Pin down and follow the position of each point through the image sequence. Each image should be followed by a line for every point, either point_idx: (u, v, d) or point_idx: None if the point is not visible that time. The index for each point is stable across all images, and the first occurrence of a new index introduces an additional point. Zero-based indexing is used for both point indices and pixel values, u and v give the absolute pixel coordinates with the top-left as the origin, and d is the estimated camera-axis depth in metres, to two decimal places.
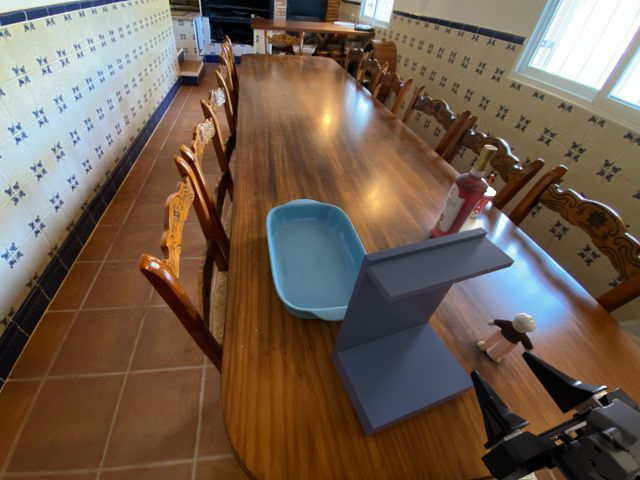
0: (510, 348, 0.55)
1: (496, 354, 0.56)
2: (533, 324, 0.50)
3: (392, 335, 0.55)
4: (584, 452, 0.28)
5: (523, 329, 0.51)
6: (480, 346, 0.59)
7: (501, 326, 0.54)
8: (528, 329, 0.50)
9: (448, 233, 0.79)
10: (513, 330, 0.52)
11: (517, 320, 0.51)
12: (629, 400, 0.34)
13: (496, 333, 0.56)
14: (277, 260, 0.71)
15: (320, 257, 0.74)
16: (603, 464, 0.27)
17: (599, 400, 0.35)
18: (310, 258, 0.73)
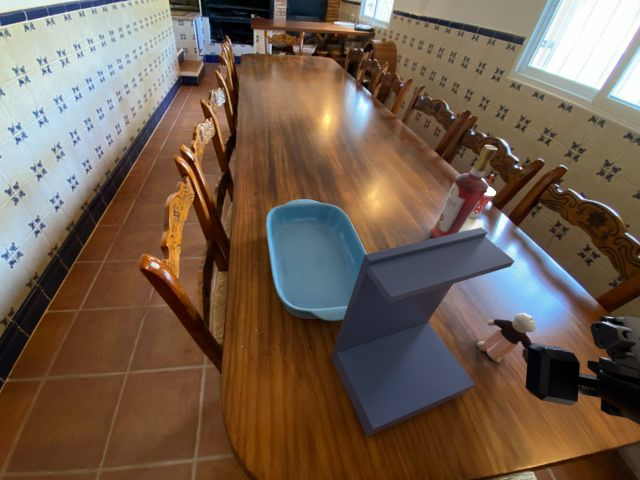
0: (510, 348, 0.55)
1: (496, 354, 0.56)
2: (533, 324, 0.50)
3: (392, 335, 0.55)
4: (595, 339, 0.35)
5: (523, 329, 0.51)
6: (480, 346, 0.59)
7: (501, 326, 0.54)
8: (528, 329, 0.50)
9: (448, 233, 0.79)
10: (513, 330, 0.52)
11: (517, 320, 0.51)
12: None
13: (496, 333, 0.56)
14: (277, 260, 0.71)
15: (320, 257, 0.74)
16: (605, 335, 0.34)
17: None
18: (310, 258, 0.73)
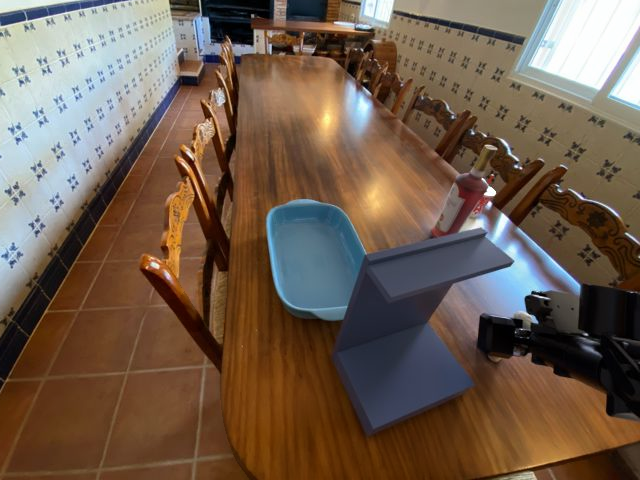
0: None
1: None
2: (529, 322, 0.50)
3: (392, 335, 0.55)
4: (527, 308, 0.46)
5: None
6: None
7: None
8: None
9: (448, 233, 0.79)
10: None
11: (515, 316, 0.52)
12: None
13: None
14: (277, 260, 0.71)
15: (320, 257, 0.74)
16: (532, 304, 0.44)
17: None
18: (310, 258, 0.73)
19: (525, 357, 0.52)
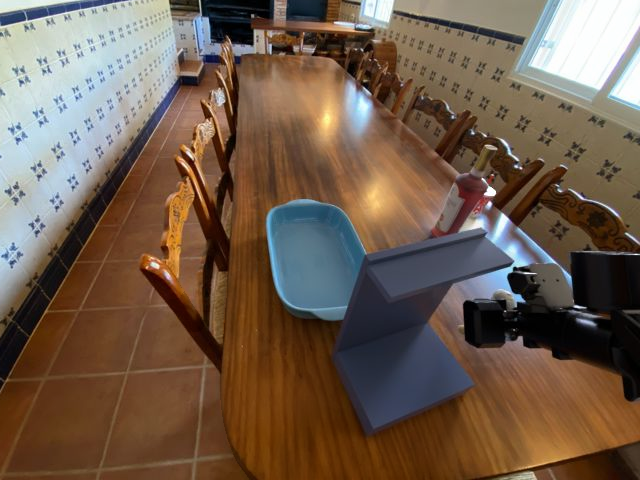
0: None
1: None
2: (511, 301, 0.46)
3: (392, 335, 0.55)
4: (511, 287, 0.40)
5: None
6: (460, 329, 0.54)
7: None
8: None
9: (448, 233, 0.79)
10: None
11: (494, 296, 0.47)
12: None
13: None
14: (277, 260, 0.71)
15: (320, 257, 0.74)
16: (518, 282, 0.39)
17: None
18: (310, 258, 0.73)
19: None
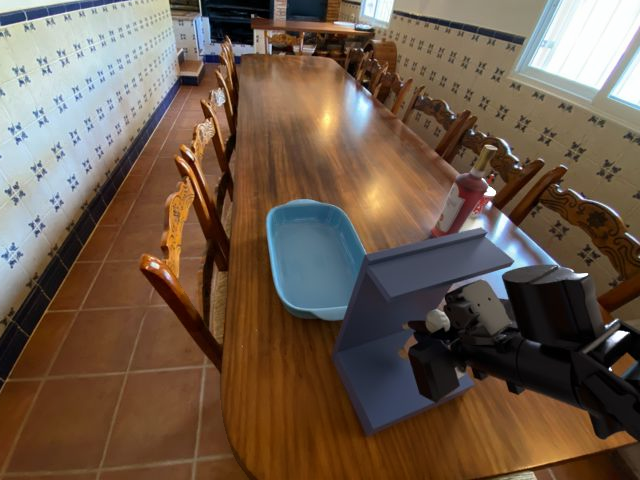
0: None
1: None
2: (446, 322, 0.42)
3: (392, 335, 0.55)
4: (451, 321, 0.35)
5: None
6: (401, 354, 0.50)
7: (416, 329, 0.46)
8: None
9: (448, 233, 0.79)
10: (428, 332, 0.44)
11: (429, 320, 0.42)
12: (505, 300, 0.42)
13: (413, 337, 0.47)
14: (277, 260, 0.71)
15: (320, 257, 0.74)
16: (457, 316, 0.34)
17: None
18: (310, 258, 0.73)
19: None
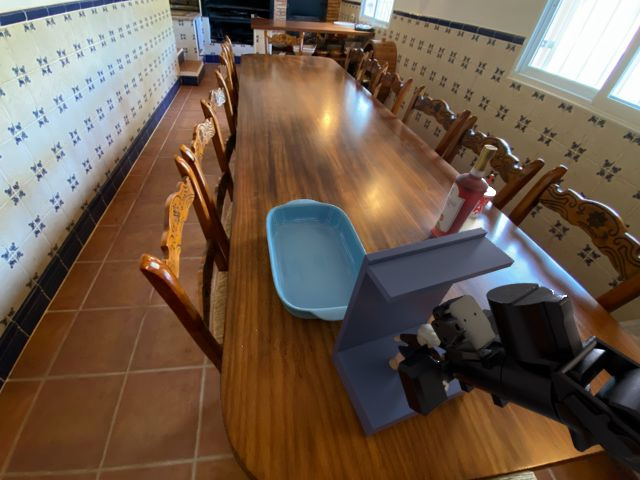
0: None
1: None
2: (437, 337, 0.43)
3: (392, 335, 0.55)
4: (439, 336, 0.36)
5: (428, 345, 0.43)
6: (392, 365, 0.51)
7: (407, 342, 0.46)
8: (433, 345, 0.42)
9: (448, 233, 0.79)
10: (419, 346, 0.45)
11: (421, 335, 0.43)
12: (490, 311, 0.43)
13: None
14: (277, 260, 0.71)
15: (320, 257, 0.74)
16: (445, 332, 0.35)
17: None
18: (310, 258, 0.73)
19: None
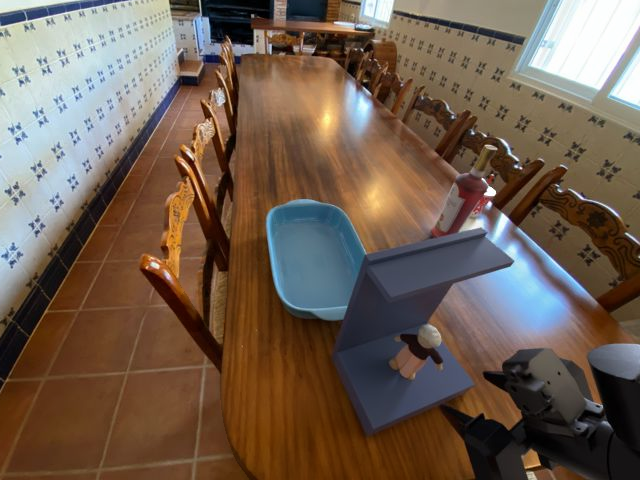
0: (421, 364, 0.47)
1: (409, 373, 0.48)
2: (438, 337, 0.43)
3: (392, 335, 0.55)
4: (516, 403, 0.29)
5: (429, 345, 0.43)
6: (392, 365, 0.51)
7: (408, 342, 0.46)
8: (434, 345, 0.42)
9: (448, 233, 0.79)
10: (420, 346, 0.45)
11: (422, 336, 0.43)
12: (563, 361, 0.36)
13: (405, 349, 0.48)
14: (277, 260, 0.71)
15: (320, 257, 0.74)
16: (526, 400, 0.28)
17: None
18: (310, 258, 0.73)
19: None
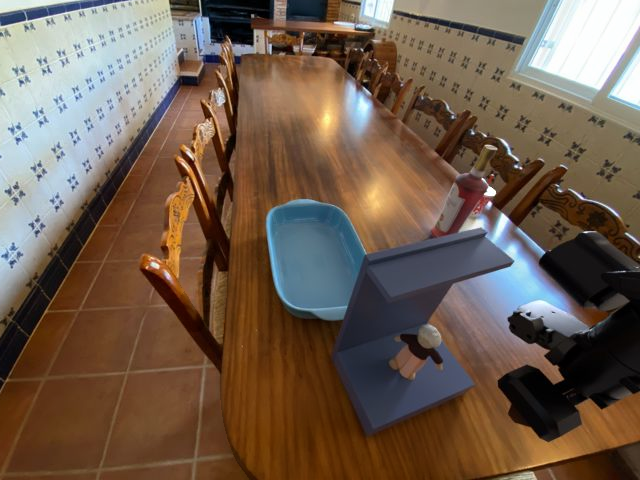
0: (421, 364, 0.47)
1: (409, 373, 0.48)
2: (438, 337, 0.43)
3: (392, 335, 0.55)
4: (523, 338, 0.35)
5: (429, 345, 0.43)
6: (392, 365, 0.51)
7: (408, 342, 0.46)
8: (434, 345, 0.42)
9: (448, 233, 0.79)
10: (420, 346, 0.45)
11: (422, 336, 0.43)
12: None
13: (405, 349, 0.48)
14: (277, 260, 0.71)
15: (320, 257, 0.74)
16: (523, 327, 0.35)
17: None
18: (310, 258, 0.73)
19: None
